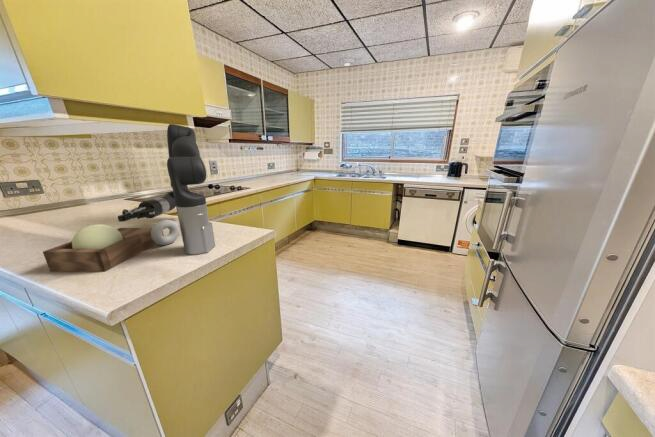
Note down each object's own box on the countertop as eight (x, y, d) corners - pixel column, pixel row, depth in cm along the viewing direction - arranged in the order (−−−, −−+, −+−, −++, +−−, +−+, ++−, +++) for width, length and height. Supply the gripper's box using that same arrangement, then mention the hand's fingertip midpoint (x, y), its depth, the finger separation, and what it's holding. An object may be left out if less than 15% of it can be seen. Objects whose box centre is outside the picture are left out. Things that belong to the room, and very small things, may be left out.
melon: (93, 232, 68) (105, 267, 72) (126, 219, 79) (136, 250, 83) (53, 232, 68) (68, 267, 72) (92, 219, 79) (103, 250, 83)
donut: (157, 249, 84) (151, 224, 81) (151, 248, 86) (145, 222, 83) (183, 240, 93) (179, 217, 90) (178, 239, 94) (173, 216, 91)
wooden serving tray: (164, 239, 94) (161, 224, 92) (105, 271, 69) (99, 251, 67) (123, 239, 94) (119, 224, 92) (50, 271, 69) (42, 251, 67)
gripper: (137, 199, 99) (99, 209, 82) (168, 199, 99) (135, 209, 82) (141, 215, 101) (105, 228, 84) (171, 215, 101) (140, 228, 84)
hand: (120, 219), depth 83 cm, fingers closed
